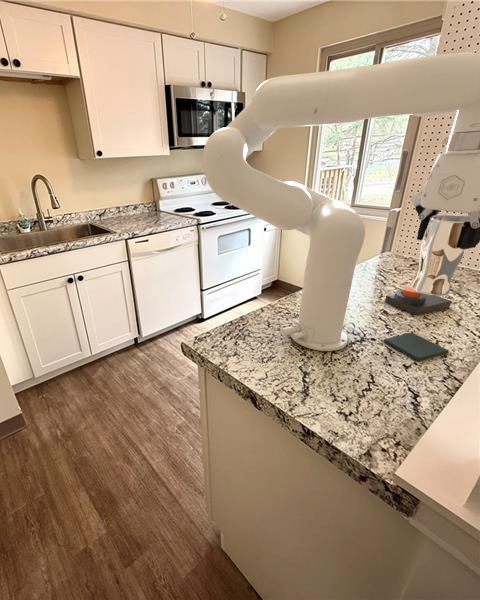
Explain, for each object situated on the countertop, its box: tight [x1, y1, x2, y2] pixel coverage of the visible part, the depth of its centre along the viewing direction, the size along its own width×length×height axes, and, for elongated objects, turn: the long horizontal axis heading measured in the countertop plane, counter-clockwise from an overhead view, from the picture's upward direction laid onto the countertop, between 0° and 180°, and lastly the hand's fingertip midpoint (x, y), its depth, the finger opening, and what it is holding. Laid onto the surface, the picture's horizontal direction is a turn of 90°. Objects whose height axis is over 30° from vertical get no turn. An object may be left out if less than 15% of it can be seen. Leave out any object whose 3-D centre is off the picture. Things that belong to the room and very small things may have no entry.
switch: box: [402, 286, 420, 298], centre depth 84 cm, size 4×4×2 cm
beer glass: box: [410, 214, 471, 297], centre depth 62 cm, size 7×7×15 cm
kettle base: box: [384, 288, 452, 316], centre depth 86 cm, size 12×9×4 cm
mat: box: [383, 332, 449, 362], centre depth 70 cm, size 8×8×1 cm
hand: (444, 242), depth 61 cm, fingers closed on beer glass, 7 cm apart
